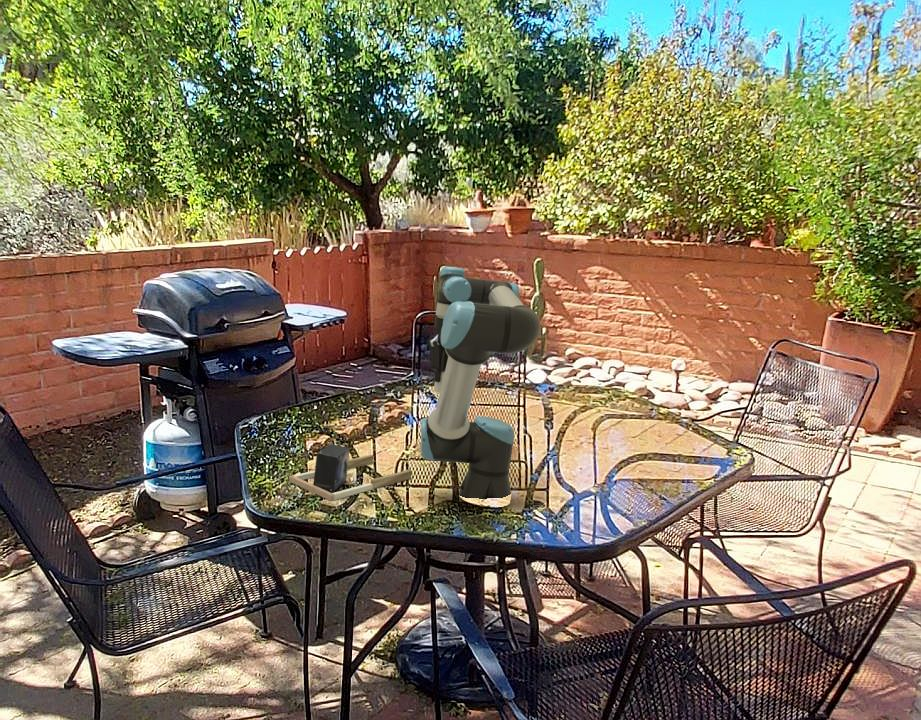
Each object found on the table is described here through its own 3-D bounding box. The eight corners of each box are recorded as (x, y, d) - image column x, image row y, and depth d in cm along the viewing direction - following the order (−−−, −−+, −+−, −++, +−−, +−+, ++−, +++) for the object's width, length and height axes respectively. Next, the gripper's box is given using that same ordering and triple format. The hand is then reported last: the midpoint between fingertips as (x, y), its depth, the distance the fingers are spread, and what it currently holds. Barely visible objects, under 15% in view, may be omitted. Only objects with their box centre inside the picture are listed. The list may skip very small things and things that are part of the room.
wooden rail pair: (411, 478, 223) (411, 470, 223) (373, 489, 211) (374, 480, 210) (370, 462, 234) (370, 454, 233) (331, 471, 221) (332, 463, 221)
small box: (334, 493, 204) (337, 457, 202) (311, 489, 205) (315, 452, 203) (347, 481, 214) (351, 446, 212) (326, 477, 215) (329, 443, 214)
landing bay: (372, 489, 211) (373, 484, 210) (330, 500, 198) (331, 495, 198) (330, 471, 221) (331, 466, 221) (289, 481, 209) (289, 476, 208)
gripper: (451, 315, 236) (442, 387, 240) (424, 315, 226) (415, 391, 230) (470, 319, 232) (460, 392, 236) (443, 319, 222) (434, 396, 226)
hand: (438, 391), depth 233 cm, fingers closed
